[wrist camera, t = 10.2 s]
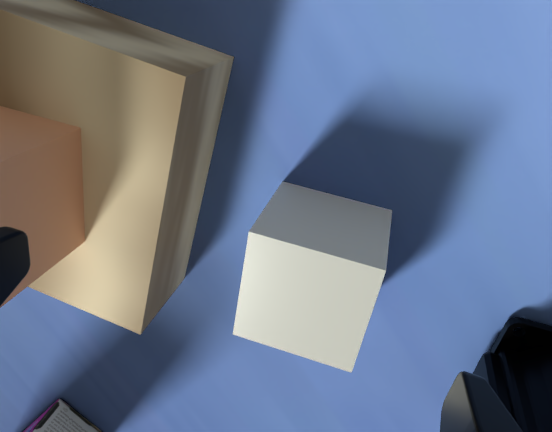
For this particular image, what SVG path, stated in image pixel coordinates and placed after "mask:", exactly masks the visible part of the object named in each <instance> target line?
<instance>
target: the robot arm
mask: <svg viewBox="0 0 552 432" xmlns="http://www.w3.org/2000/svg"><path fill="white" fill-rule="evenodd" d="M30 264H31V262H30V252H29V243H28V236H27V235H26V233H25V232H24V231H21V230H18V229H15V228H12V227H8V226H5V227H0V306H1V305H2V304H3V303H4V301H5V300H6V299H7V298H8V297H9V295H10V294H11V293H12V292H13V291H14V289H15V288H16V287H17V286H18V285H19V283H20V282H21V281H22V280H23V279H24V277H25V276H26V275H27V273H28V271H29V269H30ZM517 327H520V328H523V329H522V330H519V331H515V330H514V329H515V328H517ZM440 432H552V326H548V325H545V324H541V323H538V322H535V321H531V320H528V319H524V318H520V317H515V318H511V319H509V320H508V321H507V322H506V323H505V325H504V327H503V329H502V331H501V333H500V334H499V336H498V338H497V340H496V342H495V344H494V345H493V347H492V349H491V351H490V352H486V353H485V354H483V355H482V357H481V359H480V361H479V363H478V365H477V367H476V368H475V370H474V372H473V374H472V373H468V372H465V371H463V372H460V373H459V374H458V375H457V377H456V379H455V381H454V383H453V385H452V387H451V388H450V390H449V392H448V394H447V396H446V398H445V400H444V403H443V406H442V411H441V424H440Z"/></svg>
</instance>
